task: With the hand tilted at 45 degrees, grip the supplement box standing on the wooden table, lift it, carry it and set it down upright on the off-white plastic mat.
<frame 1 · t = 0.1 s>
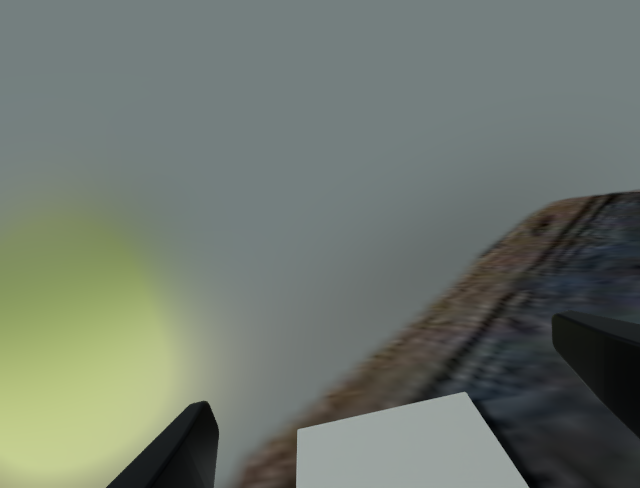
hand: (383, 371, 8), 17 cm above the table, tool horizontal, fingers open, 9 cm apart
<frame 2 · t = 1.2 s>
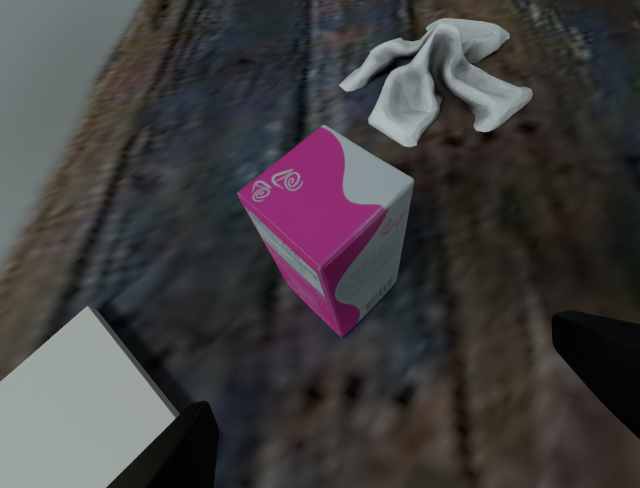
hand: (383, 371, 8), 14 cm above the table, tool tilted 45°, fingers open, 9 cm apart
mat: (55, 464, 20), on the table
supplement box: (340, 285, 24), on the table
cloth: (419, 85, 35), on the table
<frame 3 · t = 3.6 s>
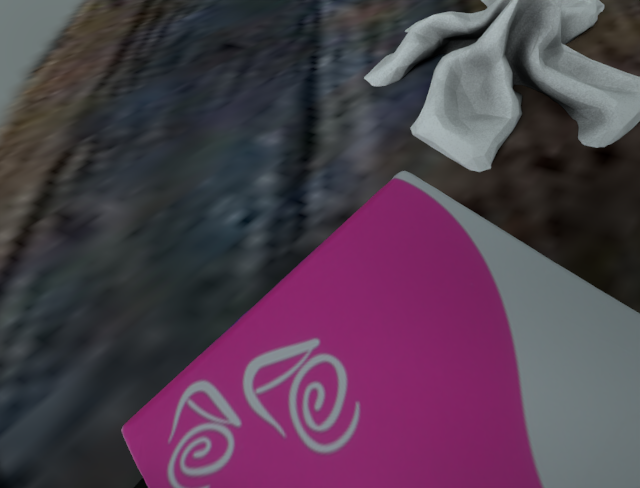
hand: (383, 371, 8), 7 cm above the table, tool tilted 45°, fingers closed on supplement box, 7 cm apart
supplement box: (385, 429, 14), on the table, touching gripper
cloth: (479, 77, 24), on the table
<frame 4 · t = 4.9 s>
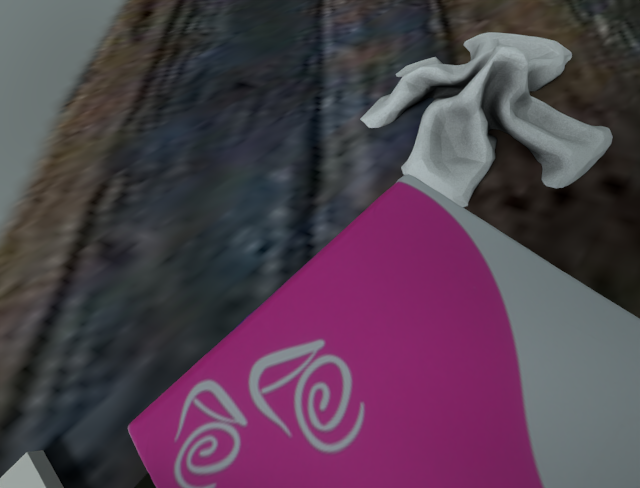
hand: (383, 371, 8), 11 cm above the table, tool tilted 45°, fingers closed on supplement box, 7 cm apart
supplement box: (383, 429, 14), point 4 cm above the table, touching gripper
cloth: (462, 119, 28), on the table
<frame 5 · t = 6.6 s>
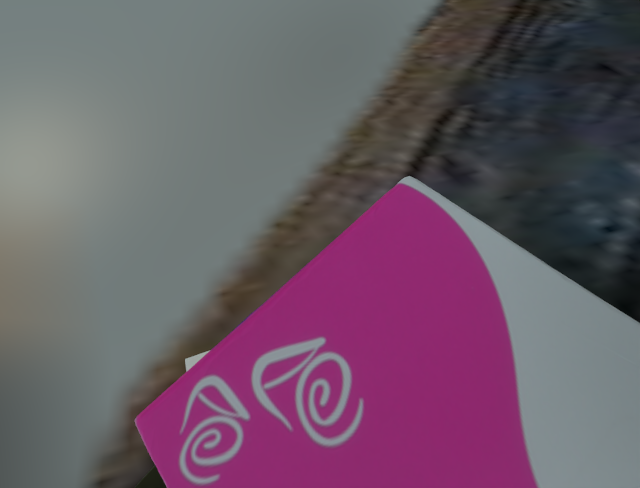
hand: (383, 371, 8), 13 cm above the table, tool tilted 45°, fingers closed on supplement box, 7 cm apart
supplement box: (384, 427, 14), point 6 cm above the table, touching gripper
when the fingers open (9 cm above the table, at t = 9.0 s): supplement box stays where it is, resting on mat.
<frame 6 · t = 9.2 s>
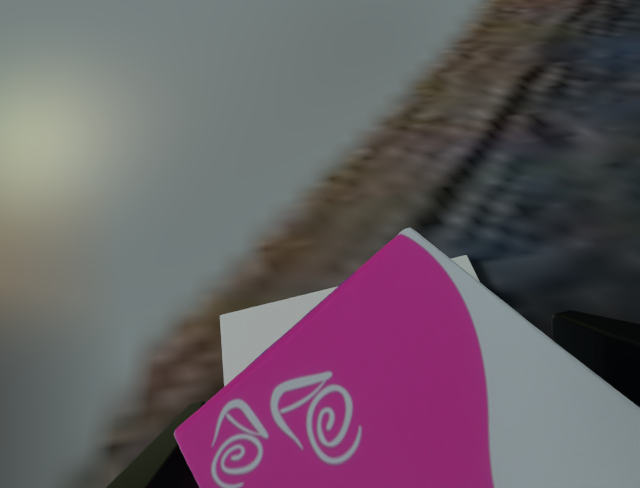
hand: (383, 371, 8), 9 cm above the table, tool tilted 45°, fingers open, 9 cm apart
mat: (380, 427, 16), on the table
supplement box: (382, 433, 15), point 1 cm above the table, touching mat
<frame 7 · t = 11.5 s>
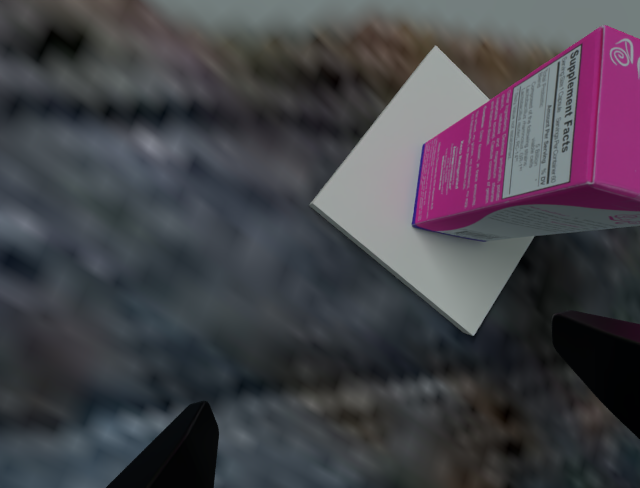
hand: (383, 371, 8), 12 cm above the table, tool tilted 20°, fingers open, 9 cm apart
mat: (445, 192, 23), on the table
supplement box: (450, 193, 22), point 1 cm above the table, touching mat
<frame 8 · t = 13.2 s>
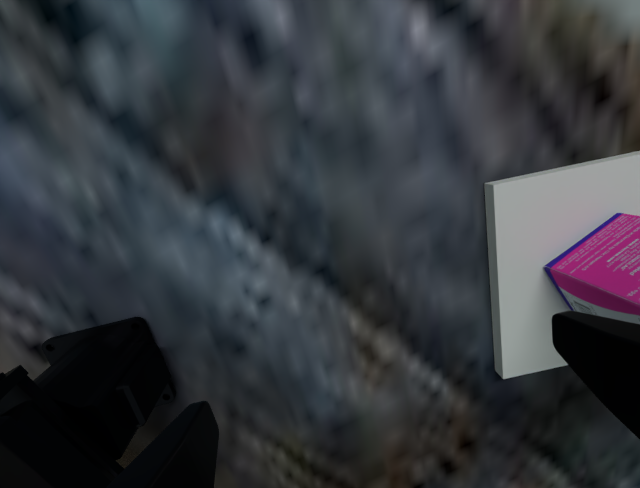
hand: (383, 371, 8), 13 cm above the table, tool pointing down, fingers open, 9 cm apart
mat: (588, 263, 23), on the table
supplement box: (595, 268, 22), point 1 cm above the table, touching mat
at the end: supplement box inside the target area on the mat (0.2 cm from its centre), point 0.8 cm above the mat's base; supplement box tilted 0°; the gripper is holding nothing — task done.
